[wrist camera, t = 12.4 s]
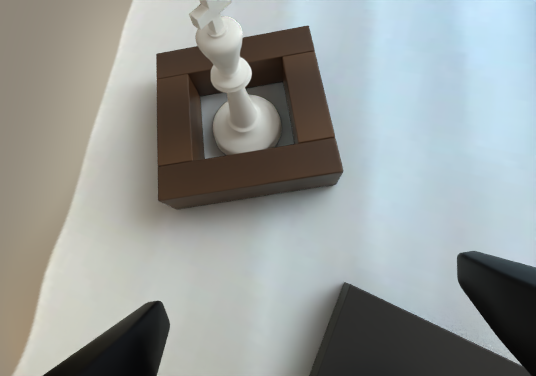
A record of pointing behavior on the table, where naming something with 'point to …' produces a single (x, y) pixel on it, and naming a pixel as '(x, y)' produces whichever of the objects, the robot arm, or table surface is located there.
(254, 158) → the frame
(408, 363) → the push button base
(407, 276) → the table surface
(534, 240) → the table surface
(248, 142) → the chess piece
